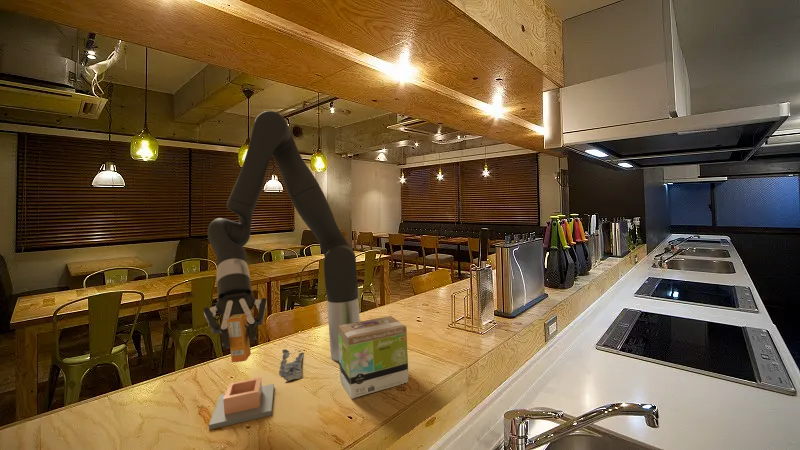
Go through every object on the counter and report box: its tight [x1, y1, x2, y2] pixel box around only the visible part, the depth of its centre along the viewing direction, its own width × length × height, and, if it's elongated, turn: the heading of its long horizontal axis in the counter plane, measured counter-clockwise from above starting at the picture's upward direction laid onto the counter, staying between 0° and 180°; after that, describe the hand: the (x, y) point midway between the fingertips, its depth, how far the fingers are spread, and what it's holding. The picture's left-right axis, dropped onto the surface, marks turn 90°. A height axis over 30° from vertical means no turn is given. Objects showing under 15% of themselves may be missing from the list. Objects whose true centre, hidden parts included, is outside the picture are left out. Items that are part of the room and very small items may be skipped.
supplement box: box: [227, 313, 252, 363], centre depth 75 cm, size 3×3×10 cm
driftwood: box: [278, 348, 304, 383], centre depth 95 cm, size 21×7×2 cm, turn 14°
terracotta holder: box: [223, 376, 263, 415], centre depth 75 cm, size 7×7×4 cm
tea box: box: [338, 315, 409, 400], centre depth 83 cm, size 15×10×15 cm
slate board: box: [208, 383, 275, 430], centre depth 75 cm, size 12×12×1 cm
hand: (239, 344), depth 73 cm, fingers closed on supplement box, 4 cm apart
